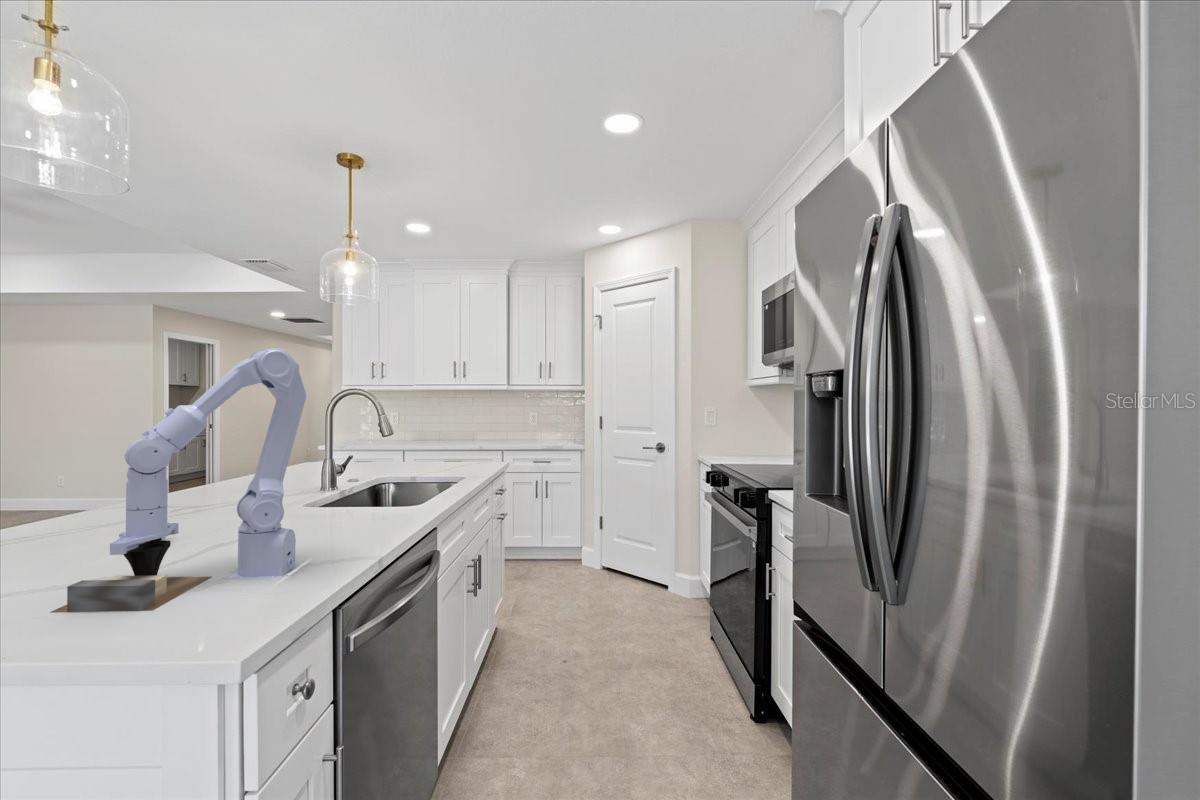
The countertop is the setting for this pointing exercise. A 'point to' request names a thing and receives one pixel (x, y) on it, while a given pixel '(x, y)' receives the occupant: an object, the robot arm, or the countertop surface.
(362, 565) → the countertop surface
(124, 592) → the board
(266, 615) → the countertop surface
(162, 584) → the cream wooden block
